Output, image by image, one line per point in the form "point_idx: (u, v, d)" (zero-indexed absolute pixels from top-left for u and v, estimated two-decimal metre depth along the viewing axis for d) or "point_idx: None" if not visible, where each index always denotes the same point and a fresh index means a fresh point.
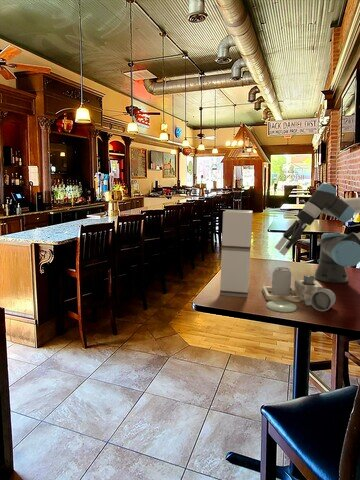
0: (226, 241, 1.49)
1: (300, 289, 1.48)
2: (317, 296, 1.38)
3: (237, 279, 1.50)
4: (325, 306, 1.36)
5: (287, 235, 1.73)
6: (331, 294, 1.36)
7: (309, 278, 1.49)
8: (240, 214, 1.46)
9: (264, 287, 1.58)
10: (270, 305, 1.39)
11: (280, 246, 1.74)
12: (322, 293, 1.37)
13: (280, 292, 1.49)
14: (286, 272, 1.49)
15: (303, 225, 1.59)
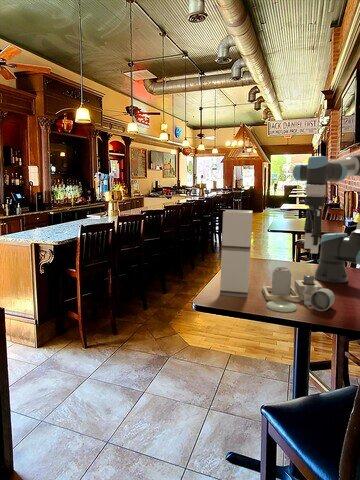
0: (226, 241, 1.49)
1: (300, 289, 1.48)
2: (316, 296, 1.38)
3: (237, 279, 1.50)
4: (324, 306, 1.37)
5: (309, 228, 1.53)
6: (330, 294, 1.36)
7: (309, 278, 1.49)
8: (240, 214, 1.46)
9: (264, 287, 1.58)
10: (270, 305, 1.39)
11: (309, 244, 1.54)
12: (321, 293, 1.37)
13: (280, 292, 1.49)
14: (286, 272, 1.49)
15: (317, 213, 1.40)
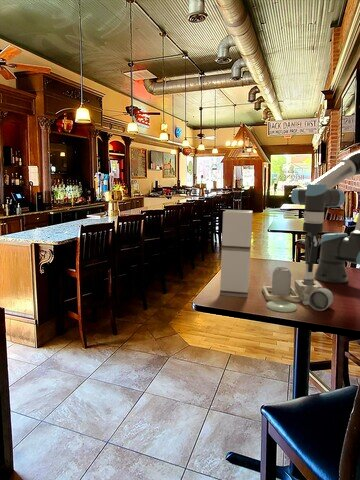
0: (226, 241, 1.49)
1: (300, 289, 1.48)
2: (315, 296, 1.38)
3: (237, 279, 1.50)
4: (323, 306, 1.37)
5: None
6: (329, 294, 1.37)
7: (309, 281, 1.49)
8: (240, 214, 1.46)
9: (264, 287, 1.58)
10: (270, 305, 1.39)
11: None
12: (320, 293, 1.37)
13: (280, 292, 1.49)
14: (286, 272, 1.49)
15: (315, 244, 1.43)
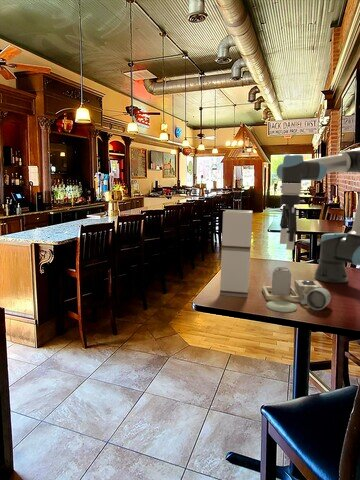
0: (226, 241, 1.49)
1: (300, 289, 1.48)
2: (312, 295, 1.39)
3: (237, 279, 1.50)
4: (320, 305, 1.37)
5: (284, 225, 1.54)
6: (326, 293, 1.37)
7: (309, 283, 1.49)
8: (240, 214, 1.46)
9: (264, 287, 1.58)
10: (270, 305, 1.39)
11: (284, 239, 1.56)
12: (317, 292, 1.38)
13: (280, 292, 1.49)
14: (286, 272, 1.49)
15: (292, 210, 1.40)
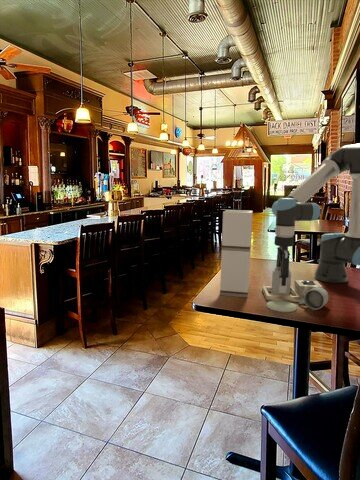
0: (226, 241, 1.49)
1: (300, 289, 1.48)
2: (310, 295, 1.39)
3: (237, 279, 1.50)
4: (318, 305, 1.38)
5: None
6: (324, 293, 1.38)
7: (309, 283, 1.49)
8: (240, 214, 1.46)
9: (264, 287, 1.58)
10: (270, 305, 1.39)
11: None
12: (315, 292, 1.38)
13: None
14: None
15: (285, 255, 1.44)
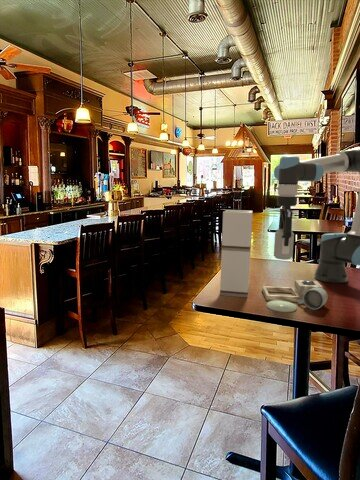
0: (226, 241, 1.49)
1: (300, 289, 1.48)
2: (309, 295, 1.40)
3: (237, 279, 1.50)
4: (317, 304, 1.38)
5: None
6: (323, 293, 1.38)
7: (309, 283, 1.49)
8: (240, 214, 1.46)
9: (264, 287, 1.58)
10: (270, 305, 1.39)
11: None
12: (314, 292, 1.38)
13: None
14: None
15: (288, 214, 1.41)
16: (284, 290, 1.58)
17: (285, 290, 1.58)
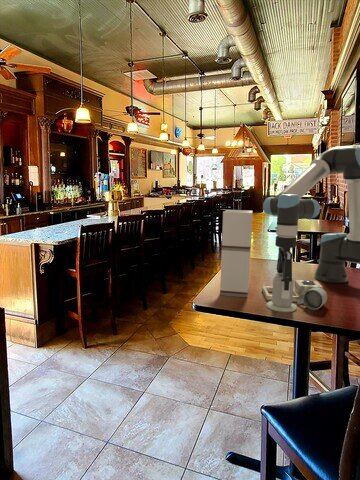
0: (226, 241, 1.49)
1: (300, 289, 1.48)
2: (309, 295, 1.39)
3: (237, 279, 1.50)
4: (317, 304, 1.38)
5: (281, 269, 1.42)
6: (323, 293, 1.38)
7: (309, 283, 1.49)
8: (240, 214, 1.46)
9: (264, 287, 1.58)
10: (270, 305, 1.39)
11: None
12: (314, 292, 1.38)
13: (282, 301, 1.36)
14: None
15: (288, 256, 1.30)
16: None
17: None
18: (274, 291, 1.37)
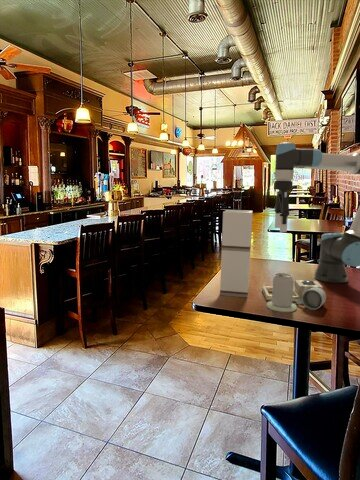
0: (226, 241, 1.49)
1: (300, 289, 1.48)
2: (308, 295, 1.39)
3: (237, 279, 1.50)
4: (316, 304, 1.38)
5: (278, 209, 1.64)
6: (322, 293, 1.38)
7: (309, 283, 1.49)
8: (240, 214, 1.46)
9: (264, 287, 1.58)
10: (270, 305, 1.39)
11: (279, 223, 1.65)
12: (313, 292, 1.38)
13: (282, 301, 1.36)
14: (288, 279, 1.35)
15: (285, 194, 1.50)
16: None
17: None
18: (274, 291, 1.37)
